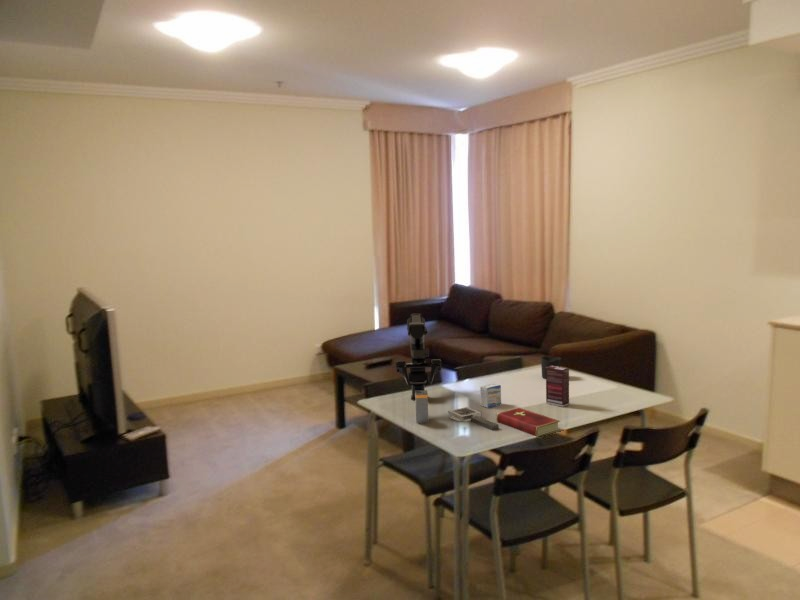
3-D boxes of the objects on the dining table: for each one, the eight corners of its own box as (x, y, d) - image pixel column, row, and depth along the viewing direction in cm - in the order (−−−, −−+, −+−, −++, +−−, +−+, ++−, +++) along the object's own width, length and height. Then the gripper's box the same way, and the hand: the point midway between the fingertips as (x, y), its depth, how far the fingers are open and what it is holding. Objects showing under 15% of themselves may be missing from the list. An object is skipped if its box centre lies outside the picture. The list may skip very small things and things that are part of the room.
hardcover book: (536, 438, 218) (536, 426, 218) (496, 423, 236) (496, 412, 235) (559, 430, 225) (559, 419, 224) (519, 416, 242) (518, 406, 242)
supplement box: (569, 404, 255) (569, 367, 253) (563, 407, 251) (563, 370, 249) (551, 401, 261) (551, 364, 259) (545, 403, 257) (545, 367, 255)
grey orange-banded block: (415, 419, 241) (415, 390, 240) (427, 419, 241) (426, 390, 240) (416, 423, 237) (415, 393, 235) (428, 423, 237) (427, 393, 235)
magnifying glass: (443, 415, 245) (443, 410, 245) (467, 410, 251) (467, 405, 251) (483, 432, 224) (482, 427, 224) (507, 426, 230) (507, 421, 230)
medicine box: (487, 408, 253) (487, 388, 252) (480, 405, 257) (480, 386, 256) (501, 404, 258) (501, 384, 257) (494, 402, 261) (494, 382, 260)
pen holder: (550, 381, 293) (550, 361, 292) (537, 377, 301) (537, 357, 300) (564, 378, 297) (564, 358, 296) (551, 374, 306) (551, 355, 304)
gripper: (395, 341, 247) (396, 376, 239) (440, 340, 247) (443, 375, 239) (395, 354, 256) (396, 388, 248) (439, 353, 257) (442, 386, 248)
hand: (419, 384), depth 245 cm, fingers open, 9 cm apart
